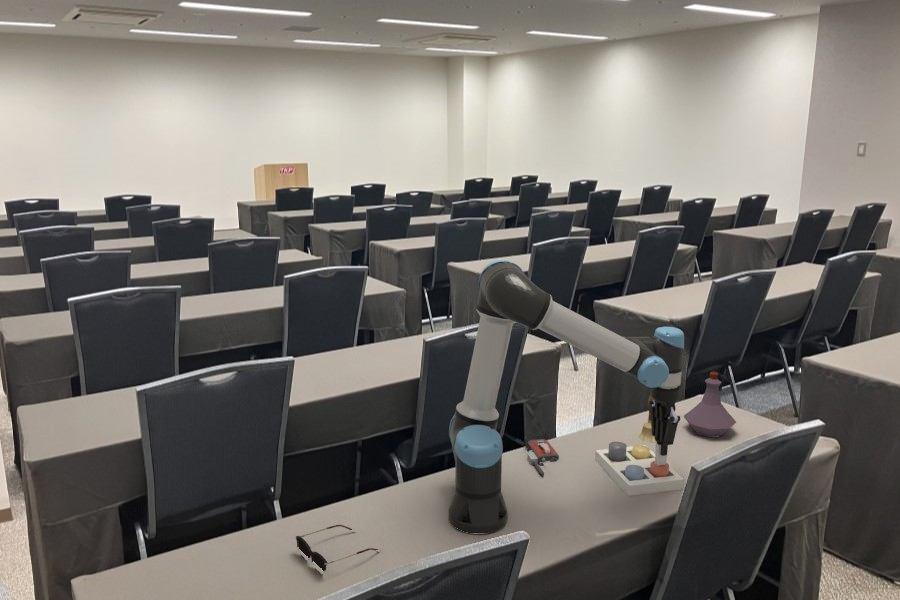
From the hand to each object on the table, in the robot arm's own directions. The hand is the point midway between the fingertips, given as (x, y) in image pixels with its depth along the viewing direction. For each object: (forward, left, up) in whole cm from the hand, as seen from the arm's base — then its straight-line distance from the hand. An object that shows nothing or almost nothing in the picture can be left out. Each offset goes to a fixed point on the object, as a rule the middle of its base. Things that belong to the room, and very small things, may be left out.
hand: (660, 463), depth 210 cm
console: (-4, +6, -6) cm, 9 cm away
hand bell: (+11, +27, -7) cm, 30 cm away
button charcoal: (-8, +11, -3) cm, 14 cm away
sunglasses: (-90, -12, -7) cm, 91 cm away
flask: (+33, +29, -7) cm, 44 cm away
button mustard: (0, +11, -5) cm, 12 cm away
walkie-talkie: (-26, +21, -7) cm, 35 cm away
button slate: (-8, 0, -5) cm, 9 cm away
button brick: (0, 0, -4) cm, 4 cm away
